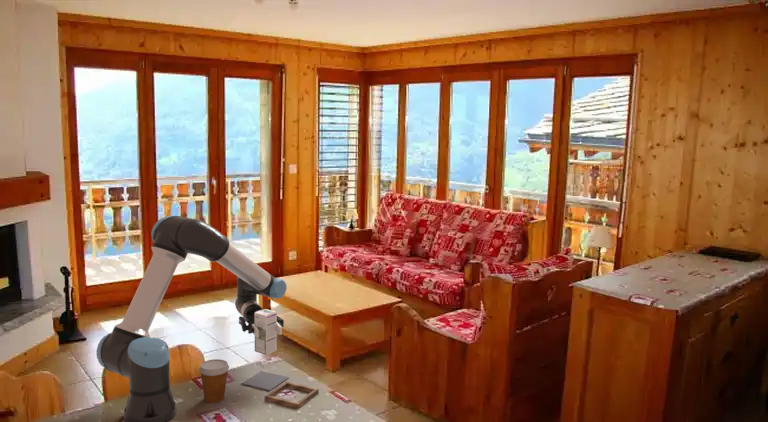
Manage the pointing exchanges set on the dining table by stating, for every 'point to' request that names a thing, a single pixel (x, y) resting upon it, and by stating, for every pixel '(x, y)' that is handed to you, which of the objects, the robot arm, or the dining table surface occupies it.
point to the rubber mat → (265, 381)
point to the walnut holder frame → (273, 399)
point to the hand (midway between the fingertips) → (269, 332)
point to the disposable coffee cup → (214, 379)
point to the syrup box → (266, 331)
